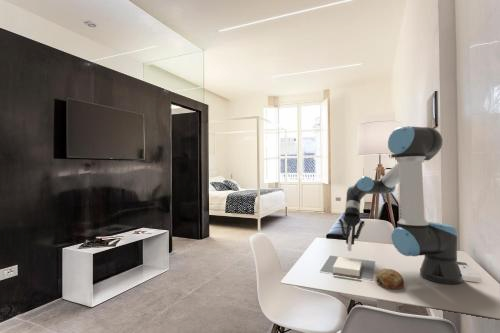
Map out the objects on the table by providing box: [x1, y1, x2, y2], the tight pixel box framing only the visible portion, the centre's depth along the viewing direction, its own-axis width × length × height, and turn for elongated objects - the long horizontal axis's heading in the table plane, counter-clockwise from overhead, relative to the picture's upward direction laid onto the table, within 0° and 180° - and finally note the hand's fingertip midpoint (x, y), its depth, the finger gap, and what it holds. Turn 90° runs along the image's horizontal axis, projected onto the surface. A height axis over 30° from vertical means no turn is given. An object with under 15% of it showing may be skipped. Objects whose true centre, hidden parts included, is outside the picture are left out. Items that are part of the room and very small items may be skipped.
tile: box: [332, 256, 363, 278], centre depth 130 cm, size 3×11×16 cm
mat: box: [319, 255, 376, 281], centre depth 135 cm, size 26×22×1 cm
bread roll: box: [375, 268, 405, 290], centre depth 114 cm, size 10×10×8 cm
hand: (349, 249), depth 139 cm, fingers closed
